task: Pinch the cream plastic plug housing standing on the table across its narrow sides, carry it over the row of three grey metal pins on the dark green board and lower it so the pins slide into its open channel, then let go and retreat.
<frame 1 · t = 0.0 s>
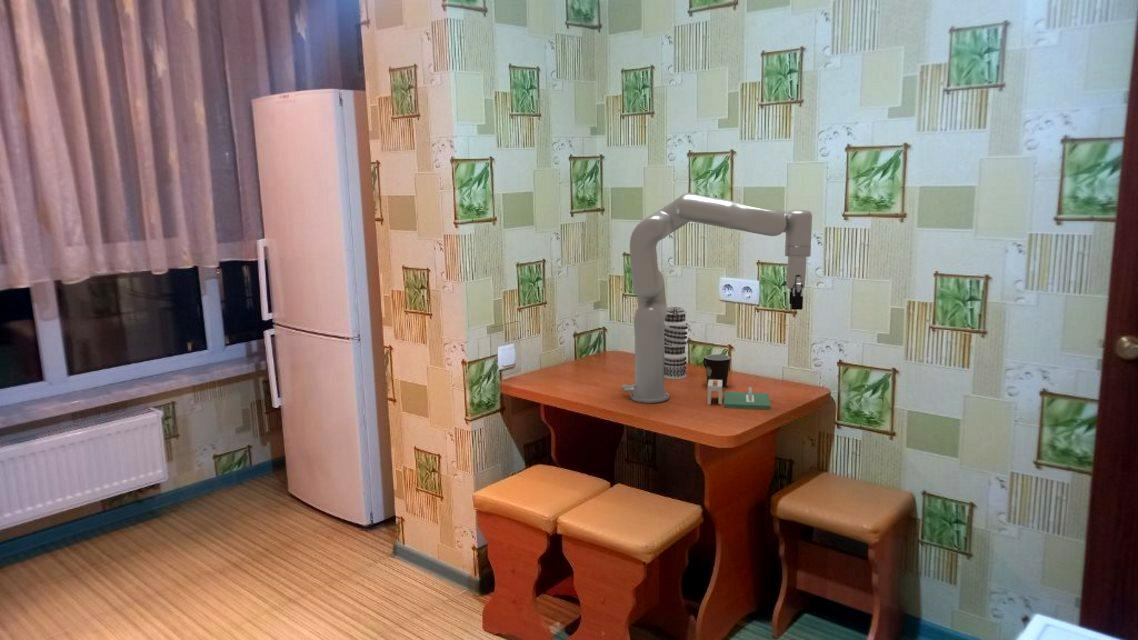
hand: (795, 306, 242), 31 cm above the table, tool pointing down, fingers open, 9 cm apart
decorative candle: (674, 376, 284), on the table
plug: (714, 401, 253), on the table
board: (746, 402, 251), on the table
coffee mug: (716, 384, 272), on the table
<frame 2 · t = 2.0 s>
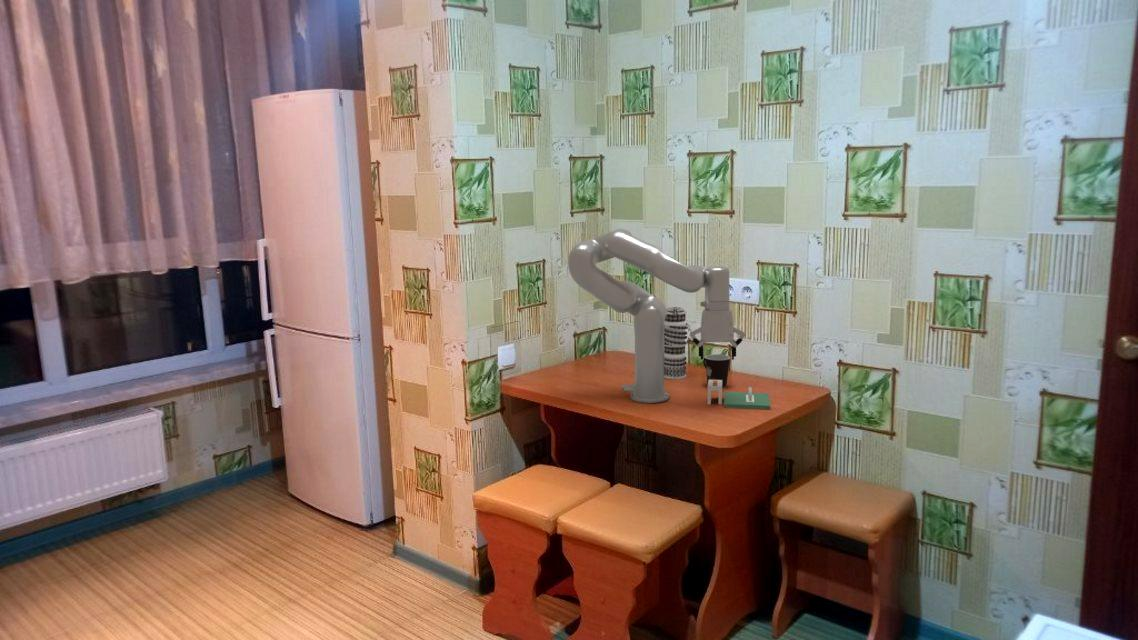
hand: (717, 358, 250), 14 cm above the table, tool pointing down, fingers open, 9 cm apart
nothing on the table moved.
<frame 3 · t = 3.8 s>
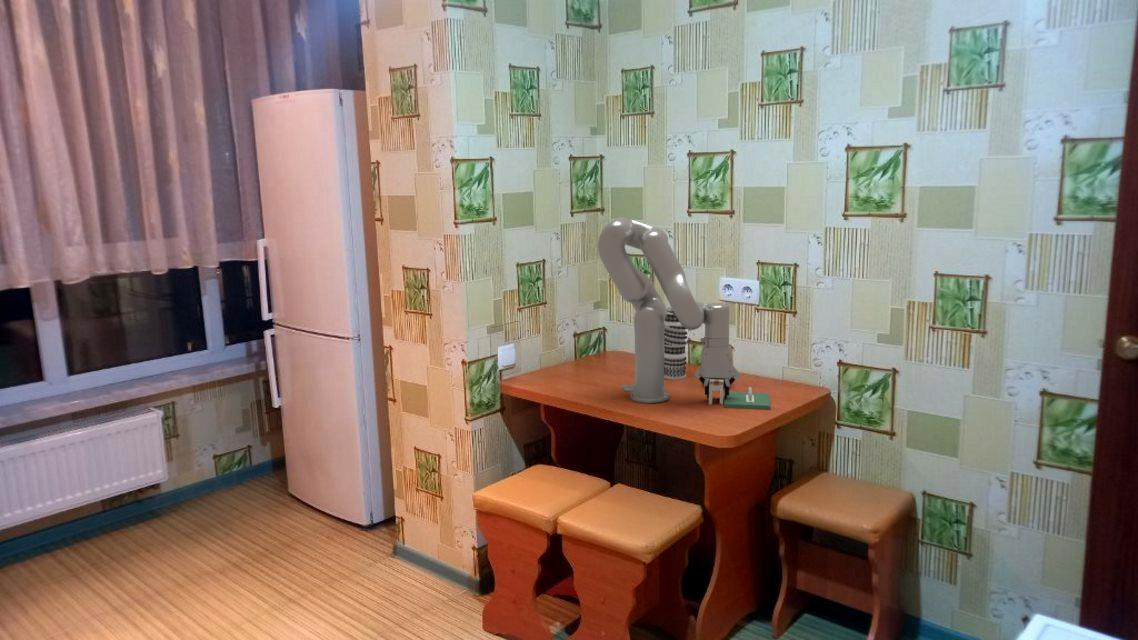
hand: (716, 396, 252), 1 cm above the table, tool pointing down, fingers open, 5 cm apart
nothing on the table moved.
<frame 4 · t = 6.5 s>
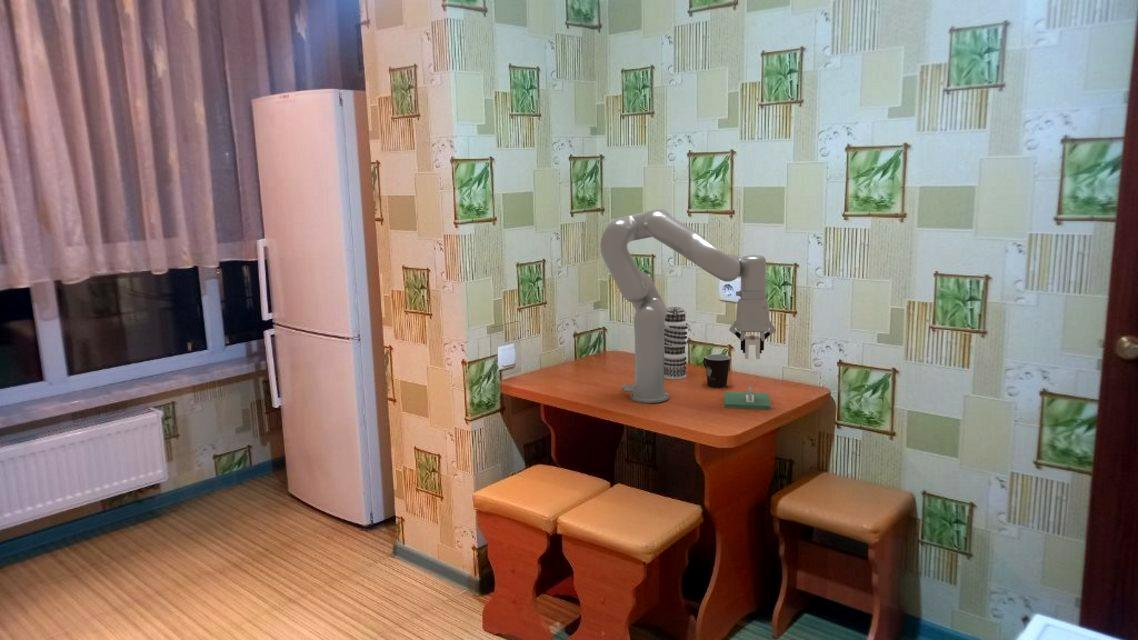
hand: (752, 351, 247), 17 cm above the table, tool pointing down, fingers closed on plug, 4 cm apart
plug: (752, 356, 248), point 15 cm above the table, touching gripper
everything else where it was.
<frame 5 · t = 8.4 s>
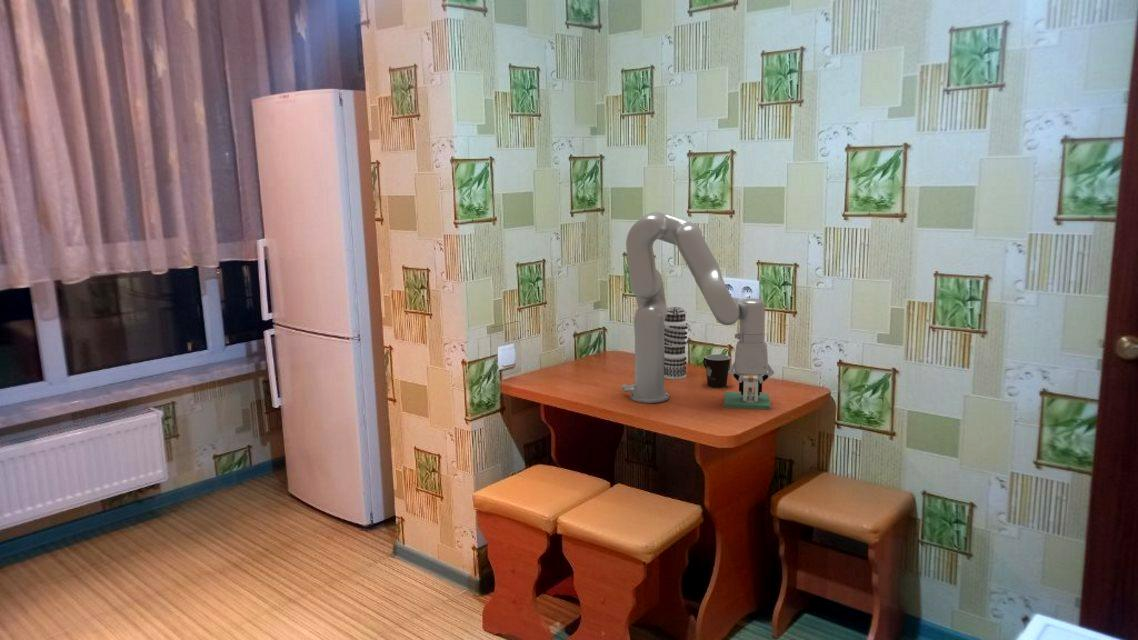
hand: (750, 393, 250), 3 cm above the table, tool pointing down, fingers closed on plug, 4 cm apart
plug: (750, 397, 250), point 1 cm above the table, touching gripper
everything else where it was.
when the fingers open (3 cm above the table, at t = 9.1 s): plug stays where it is, resting on board.
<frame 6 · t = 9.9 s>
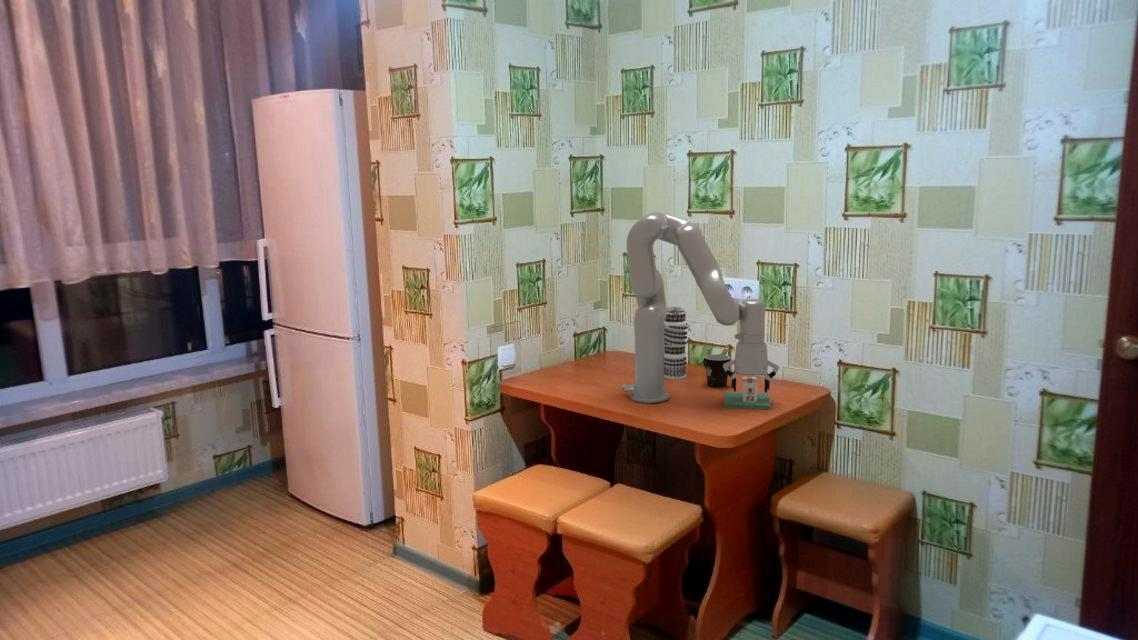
hand: (750, 391, 250), 4 cm above the table, tool pointing down, fingers open, 9 cm apart
plug: (749, 398, 250), point 1 cm above the table, touching board
everything else where it was.
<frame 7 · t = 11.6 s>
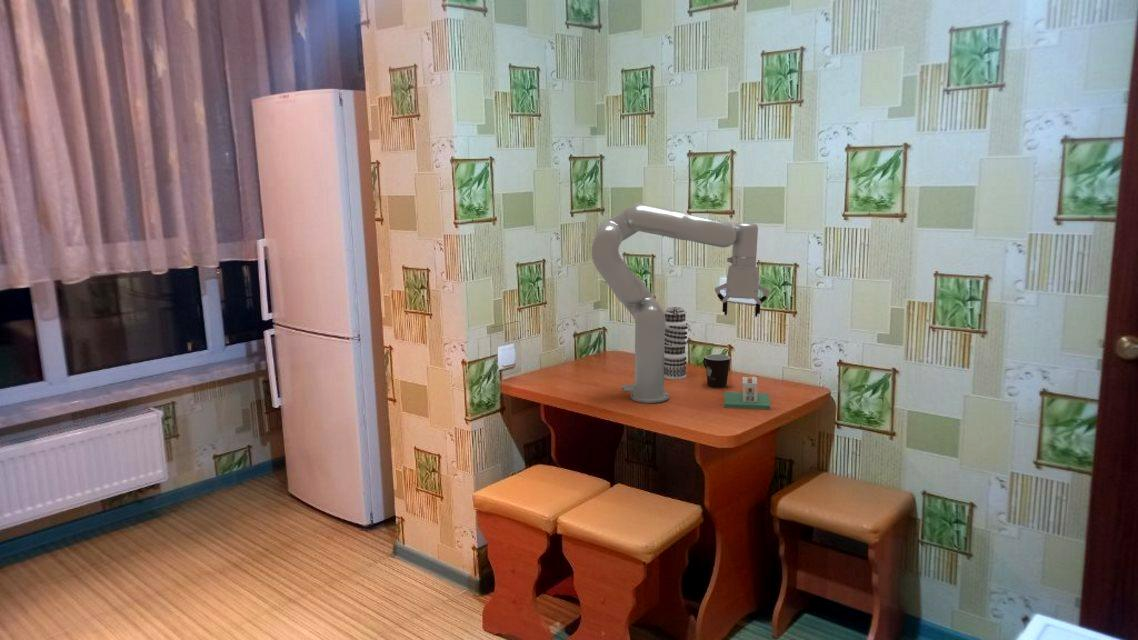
hand: (740, 315, 251), 27 cm above the table, tool pointing down, fingers open, 9 cm apart
nothing on the table moved.
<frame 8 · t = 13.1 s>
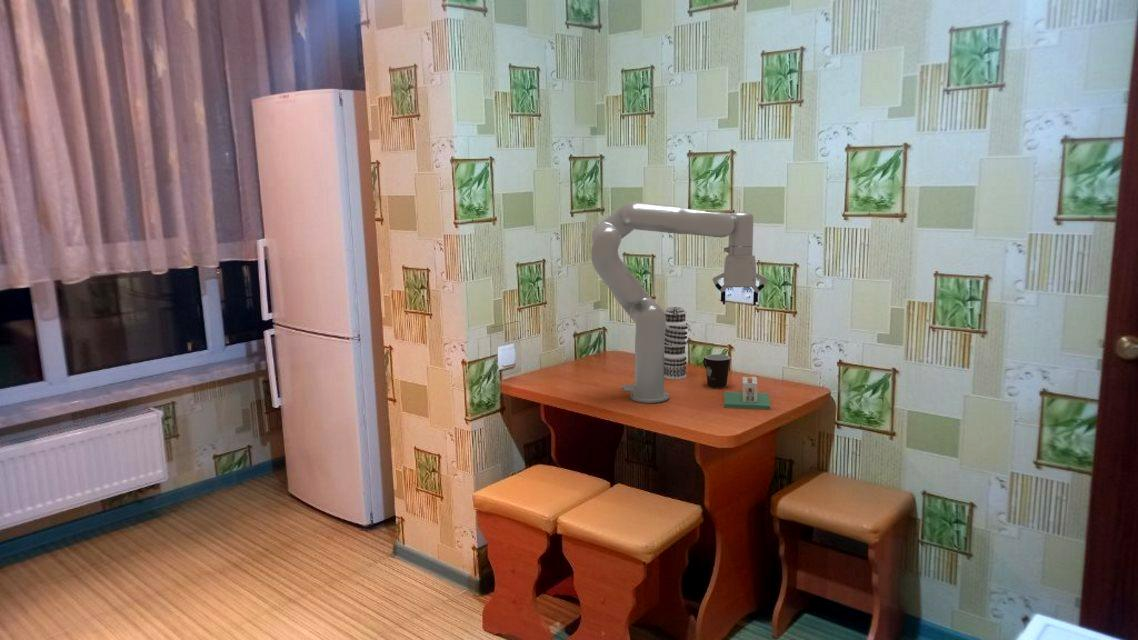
hand: (739, 304, 253), 30 cm above the table, tool pointing down, fingers open, 9 cm apart
nothing on the table moved.
at the end: plug 0.1 cm from the target spot, point 1.3 cm above the table; plug tilted 2°; the gripper is holding nothing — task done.
